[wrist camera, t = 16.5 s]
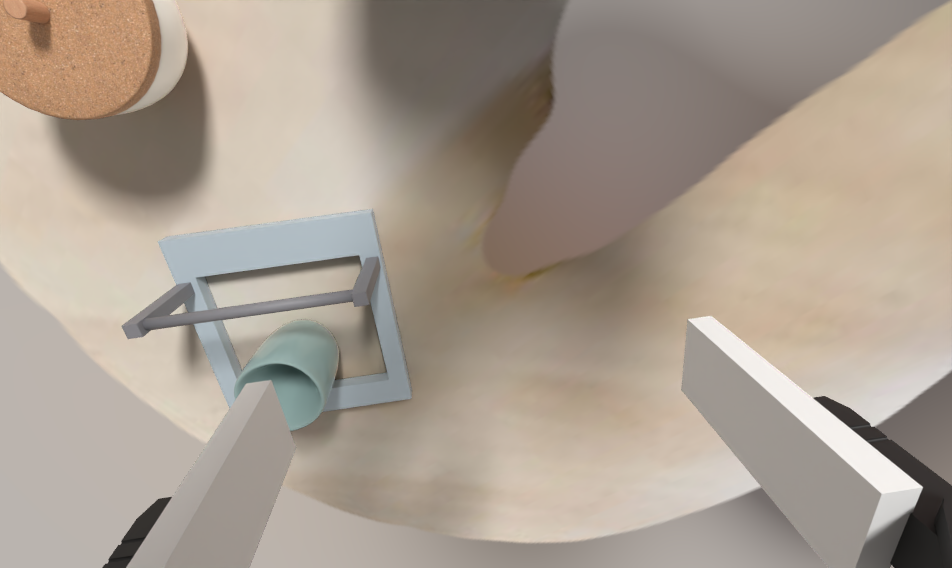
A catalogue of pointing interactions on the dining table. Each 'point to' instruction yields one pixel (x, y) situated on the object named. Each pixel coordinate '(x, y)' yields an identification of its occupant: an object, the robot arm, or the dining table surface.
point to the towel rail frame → (277, 248)
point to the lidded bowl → (90, 55)
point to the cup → (296, 369)
